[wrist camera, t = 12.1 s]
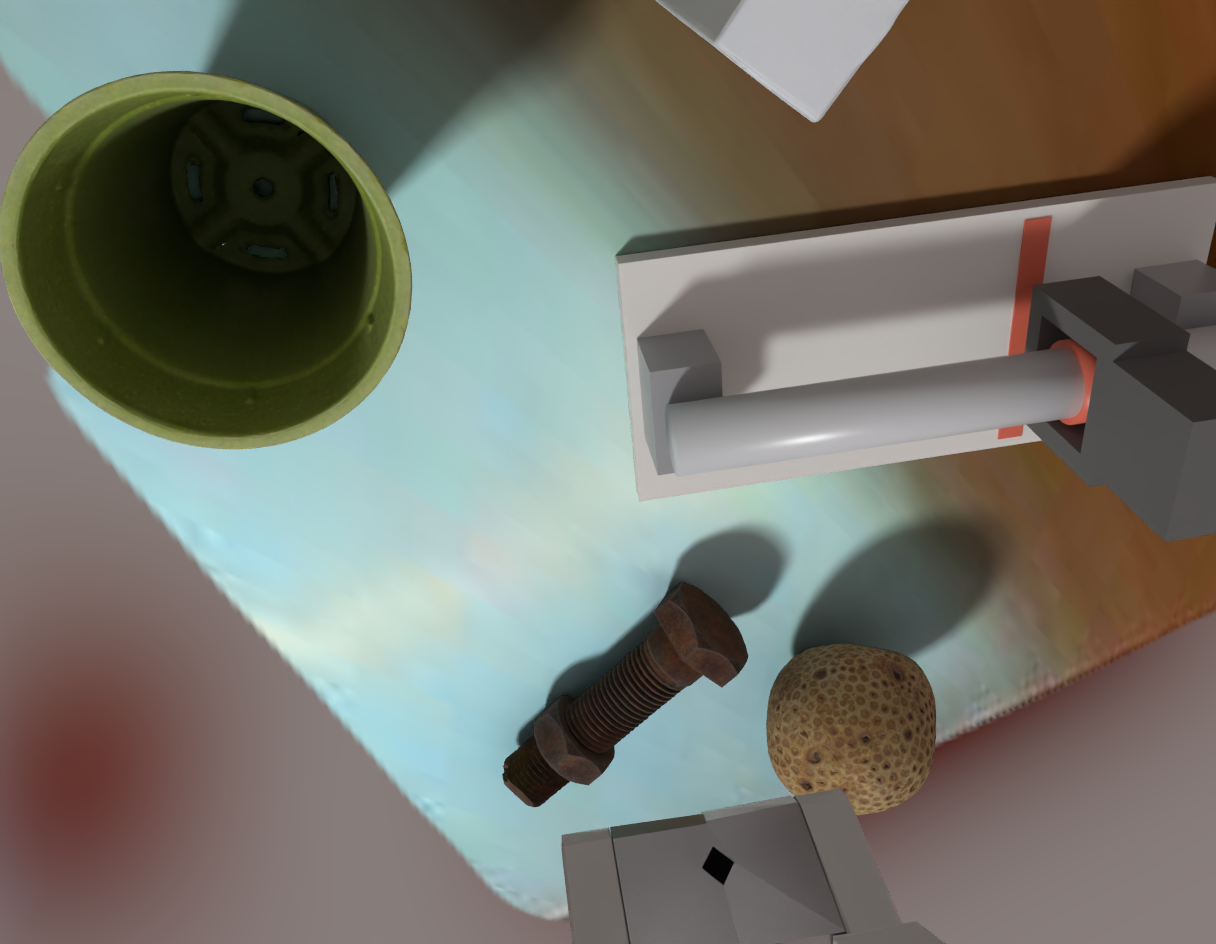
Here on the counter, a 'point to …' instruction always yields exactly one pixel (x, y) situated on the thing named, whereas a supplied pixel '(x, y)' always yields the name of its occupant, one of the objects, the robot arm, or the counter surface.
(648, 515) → the counter surface
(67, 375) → the plant pot
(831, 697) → the natural sponge
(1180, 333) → the collar
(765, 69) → the skincare box
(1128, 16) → the counter surface
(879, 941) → the robot arm
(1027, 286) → the pipe stand
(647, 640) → the bolt
